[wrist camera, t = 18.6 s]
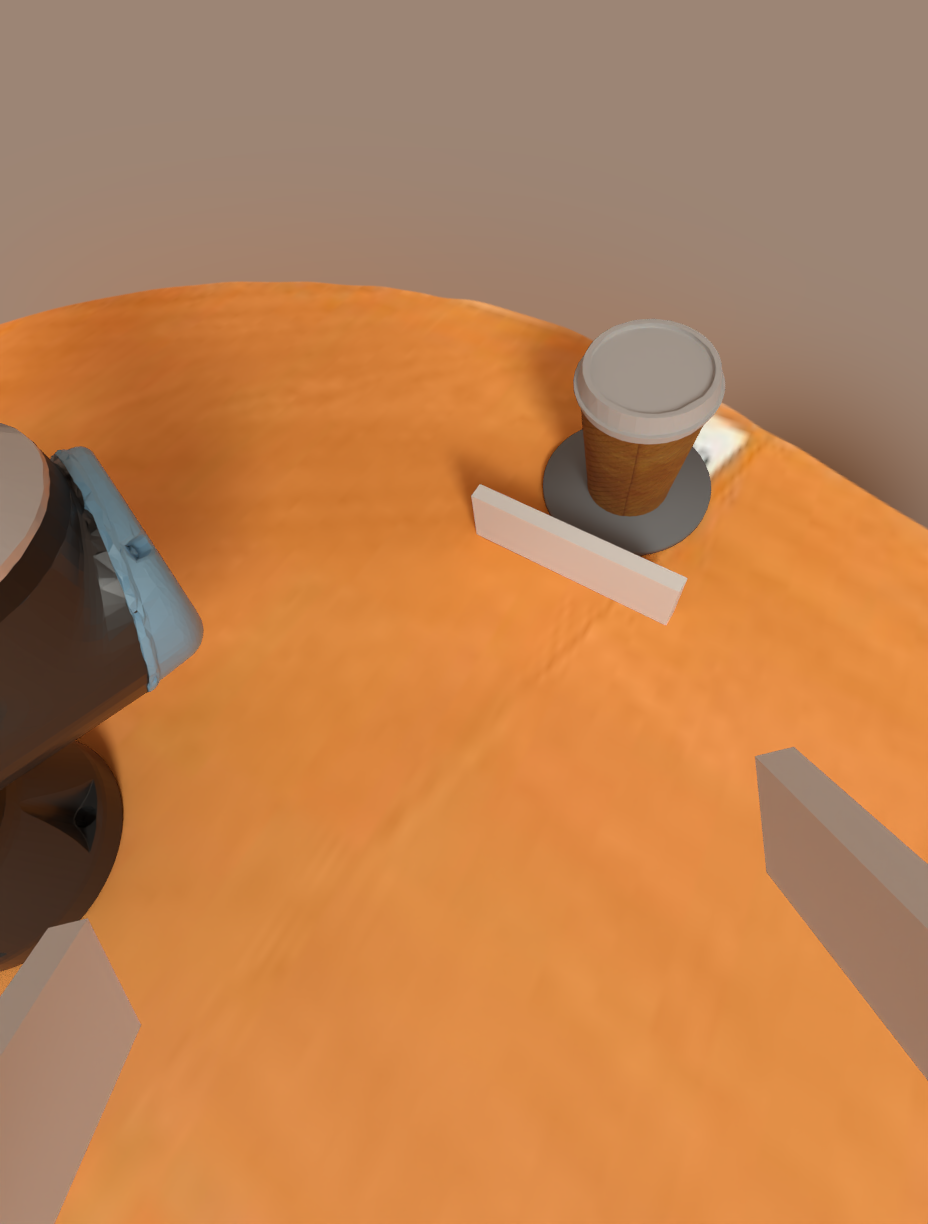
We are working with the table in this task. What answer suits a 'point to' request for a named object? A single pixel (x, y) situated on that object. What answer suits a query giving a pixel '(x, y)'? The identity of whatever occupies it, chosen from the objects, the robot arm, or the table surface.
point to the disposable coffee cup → (644, 409)
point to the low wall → (577, 555)
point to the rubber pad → (629, 533)
